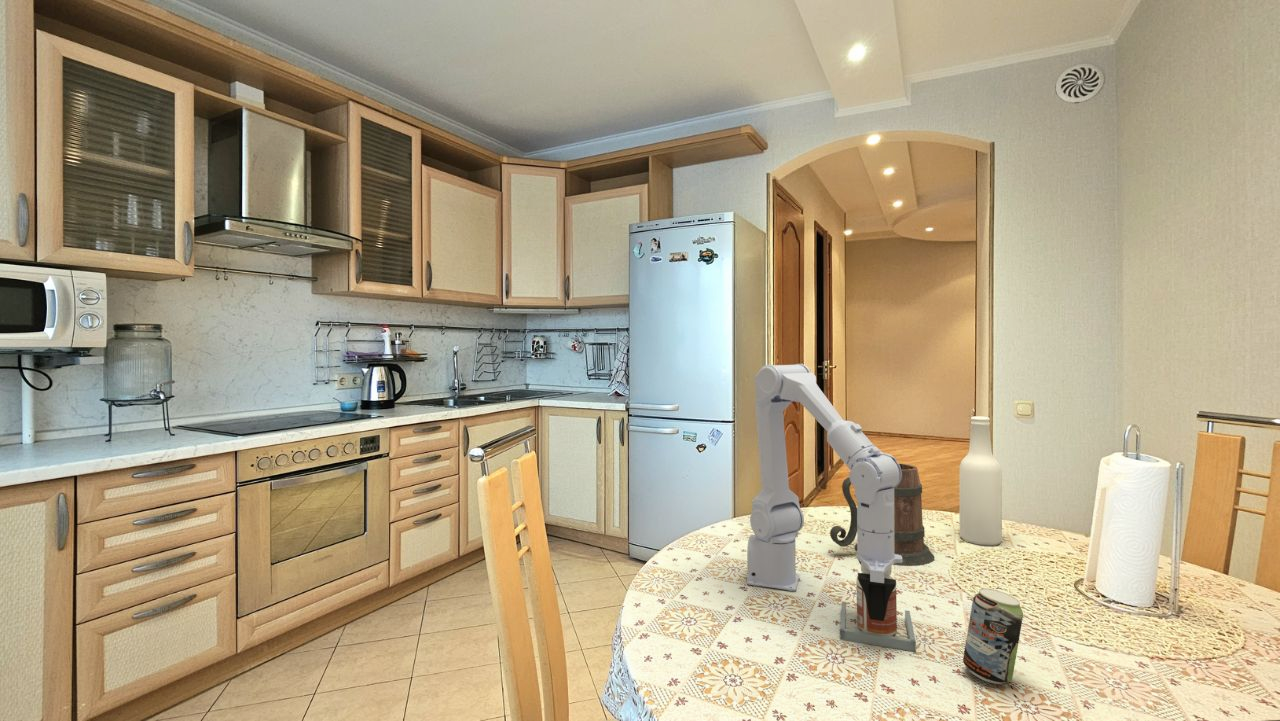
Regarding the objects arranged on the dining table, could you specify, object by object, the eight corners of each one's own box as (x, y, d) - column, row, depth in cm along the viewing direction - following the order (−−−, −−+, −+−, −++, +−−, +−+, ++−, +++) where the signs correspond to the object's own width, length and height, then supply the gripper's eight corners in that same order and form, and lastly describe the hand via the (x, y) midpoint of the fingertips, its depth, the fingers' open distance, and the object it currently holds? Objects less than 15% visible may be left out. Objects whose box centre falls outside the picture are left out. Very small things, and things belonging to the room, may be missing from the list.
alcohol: (1010, 546, 131) (1010, 419, 130) (972, 546, 131) (972, 419, 130) (987, 534, 139) (987, 414, 139) (952, 534, 140) (951, 415, 139)
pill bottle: (904, 631, 92) (904, 564, 92) (883, 642, 89) (882, 573, 88) (870, 616, 97) (870, 553, 97) (849, 627, 94) (848, 561, 94)
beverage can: (953, 666, 82) (953, 585, 82) (1000, 663, 83) (1000, 582, 82) (983, 692, 76) (983, 604, 75) (1034, 688, 76) (1034, 602, 76)
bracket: (840, 639, 90) (840, 630, 90) (841, 609, 100) (841, 601, 100) (915, 651, 86) (915, 642, 86) (909, 619, 96) (909, 610, 96)
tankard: (904, 537, 138) (903, 457, 137) (952, 563, 121) (952, 471, 121) (815, 543, 134) (814, 461, 134) (852, 570, 118) (851, 476, 117)
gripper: (905, 545, 84) (905, 633, 85) (898, 517, 98) (899, 594, 98) (855, 539, 87) (856, 625, 87) (856, 514, 101) (856, 588, 101)
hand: (875, 608), depth 93 cm, fingers open, 7 cm apart
